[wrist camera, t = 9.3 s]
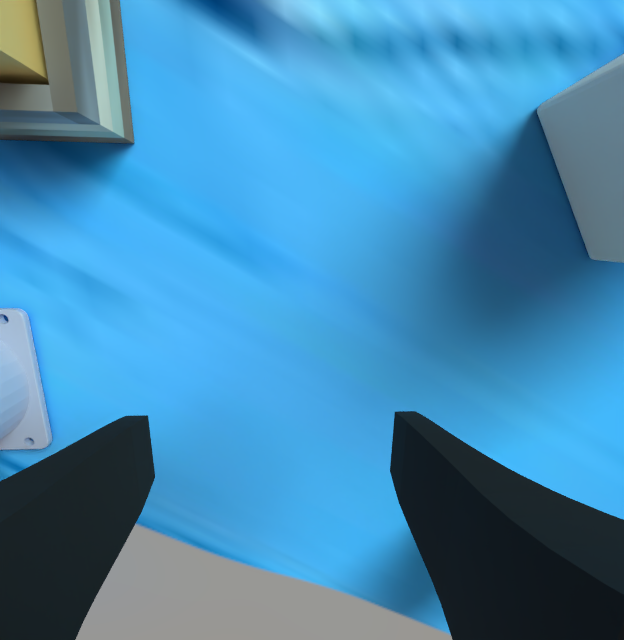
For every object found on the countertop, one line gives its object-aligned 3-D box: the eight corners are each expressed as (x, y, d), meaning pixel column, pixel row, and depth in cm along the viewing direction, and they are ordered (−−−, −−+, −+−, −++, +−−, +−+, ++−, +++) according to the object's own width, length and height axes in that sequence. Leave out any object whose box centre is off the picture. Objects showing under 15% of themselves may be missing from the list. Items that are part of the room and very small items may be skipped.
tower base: (-4, 139, 16) (-115, 105, 12) (-36, -25, 14) (-178, -134, 10) (134, 143, 16) (77, 112, 12) (117, -16, 15) (45, -118, 10)
